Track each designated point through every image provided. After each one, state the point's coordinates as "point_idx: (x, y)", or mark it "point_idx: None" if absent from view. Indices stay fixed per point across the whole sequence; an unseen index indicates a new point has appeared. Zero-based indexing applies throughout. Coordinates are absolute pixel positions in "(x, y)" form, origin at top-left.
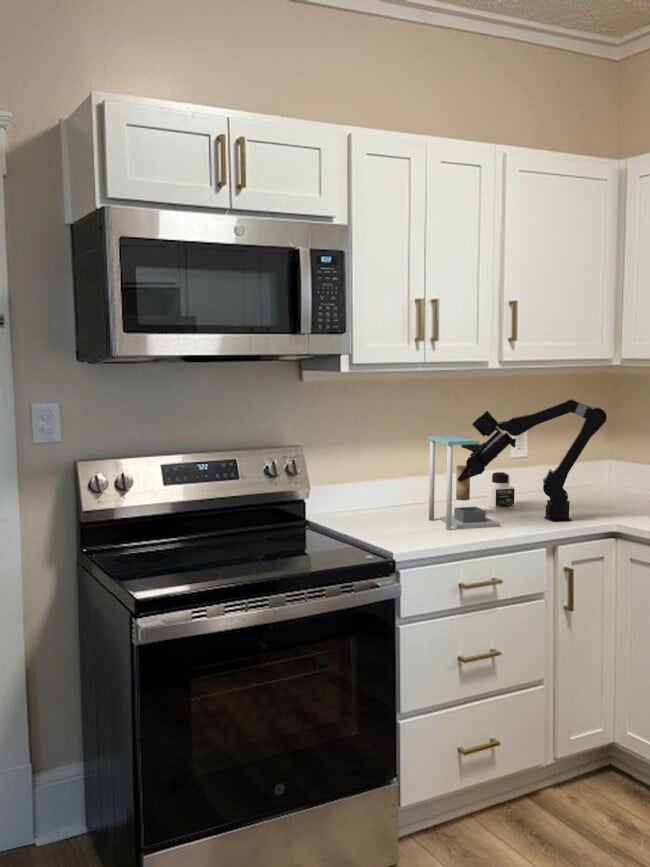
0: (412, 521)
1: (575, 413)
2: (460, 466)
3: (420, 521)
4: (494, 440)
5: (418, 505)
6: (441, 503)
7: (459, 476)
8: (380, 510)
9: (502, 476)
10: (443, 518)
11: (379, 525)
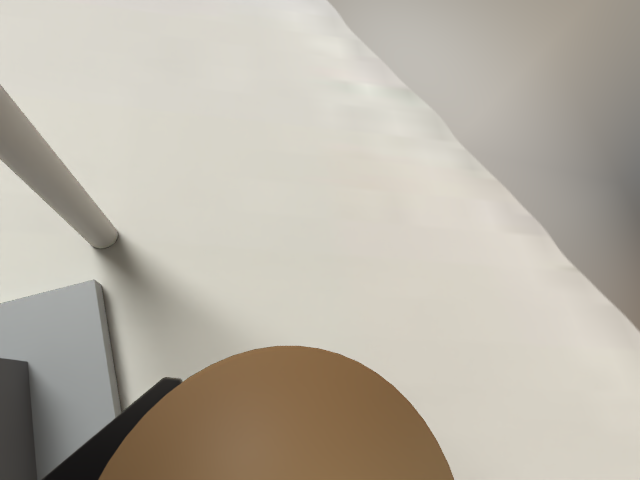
0: (82, 150)
1: None
2: (237, 456)
3: None
4: None
5: (485, 210)
6: (569, 315)
7: (125, 411)
8: (341, 71)
9: None
10: (46, 292)
11: (3, 25)
